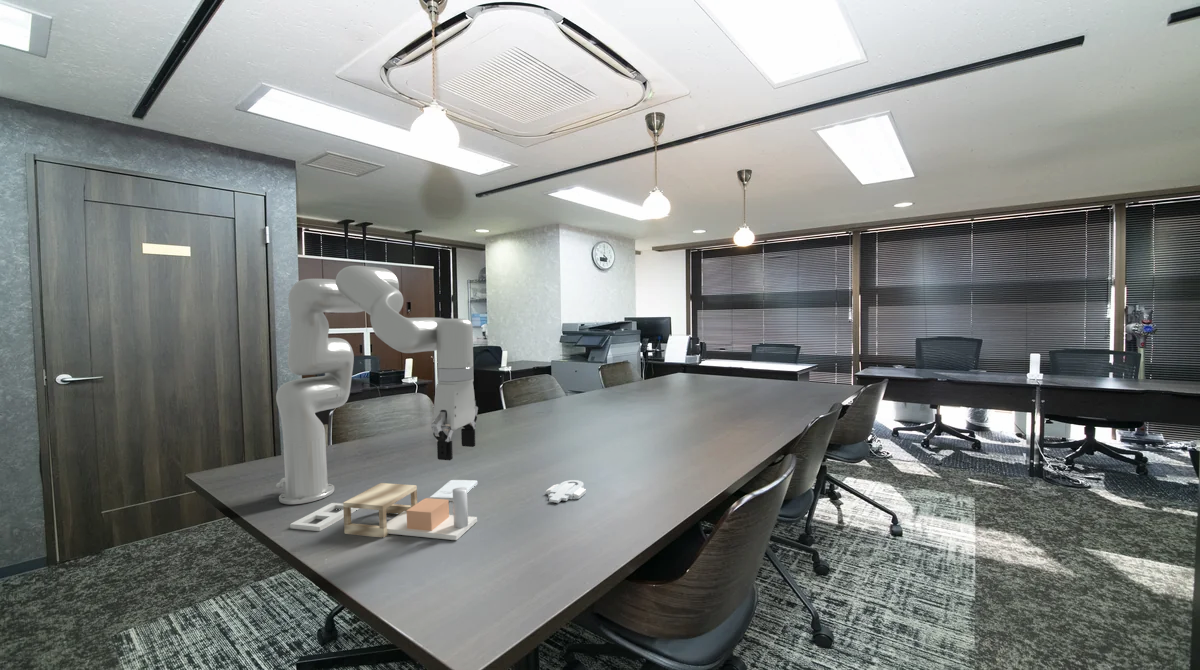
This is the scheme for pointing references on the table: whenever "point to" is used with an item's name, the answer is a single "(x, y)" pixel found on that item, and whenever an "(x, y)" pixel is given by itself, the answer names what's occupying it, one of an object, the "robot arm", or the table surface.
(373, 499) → the tunnel
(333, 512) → the frame
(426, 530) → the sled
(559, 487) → the toy rocket
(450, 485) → the external hard drive
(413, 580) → the table surface
